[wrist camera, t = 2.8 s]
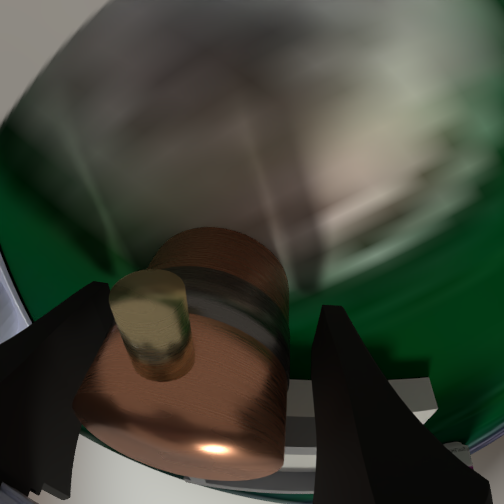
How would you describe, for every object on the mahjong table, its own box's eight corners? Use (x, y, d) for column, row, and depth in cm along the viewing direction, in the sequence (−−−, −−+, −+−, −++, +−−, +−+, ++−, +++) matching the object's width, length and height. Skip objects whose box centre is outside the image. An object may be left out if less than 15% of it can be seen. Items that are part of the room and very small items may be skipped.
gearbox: (178, 453, 21) (169, 487, 18) (133, 358, 14) (109, 416, 11) (393, 460, 20) (397, 493, 17) (482, 370, 12) (500, 419, 9)
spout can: (161, 330, 12) (112, 456, 7) (134, 179, 9) (0, 306, 4) (283, 344, 12) (274, 487, 7) (303, 186, 8) (326, 364, 3)
